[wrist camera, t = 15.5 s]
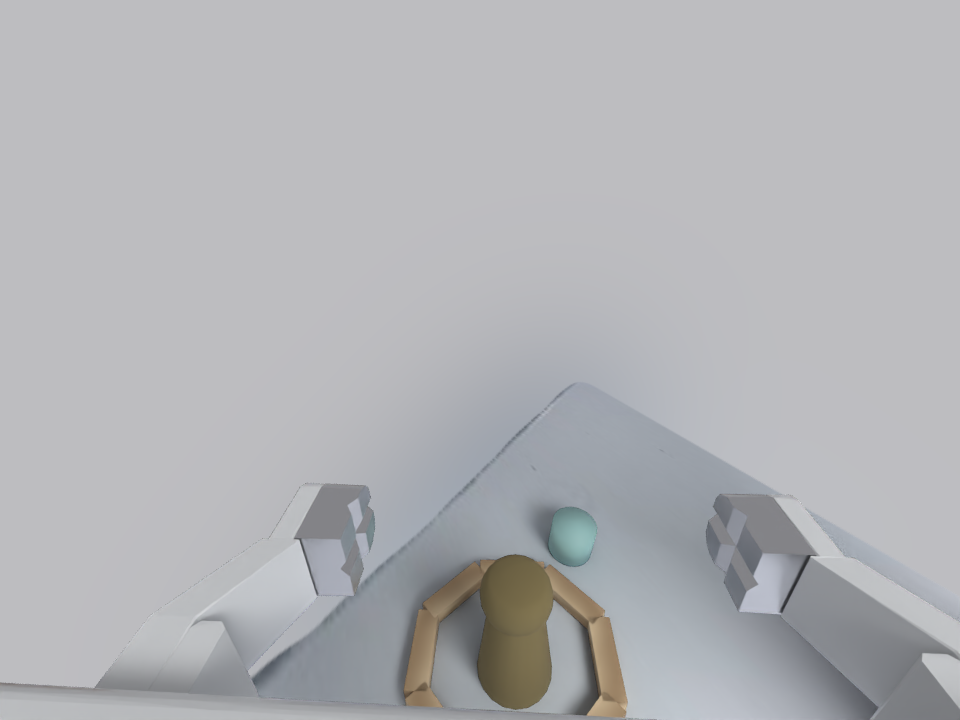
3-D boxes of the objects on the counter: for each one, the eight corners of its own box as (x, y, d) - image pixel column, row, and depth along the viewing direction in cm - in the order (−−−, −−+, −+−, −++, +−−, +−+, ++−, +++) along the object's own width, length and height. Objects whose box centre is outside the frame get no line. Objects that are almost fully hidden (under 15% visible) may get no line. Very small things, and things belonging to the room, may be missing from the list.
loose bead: (545, 528, 46) (550, 505, 44) (585, 530, 46) (591, 507, 44) (551, 565, 42) (556, 542, 40) (595, 567, 42) (601, 544, 40)
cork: (491, 617, 38) (489, 531, 32) (558, 641, 36) (568, 554, 31) (465, 691, 33) (459, 603, 27) (542, 723, 31) (551, 635, 26)
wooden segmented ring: (596, 571, 41) (597, 563, 41) (646, 809, 27) (649, 801, 26) (429, 565, 42) (428, 557, 42) (388, 791, 28) (385, 783, 27)
